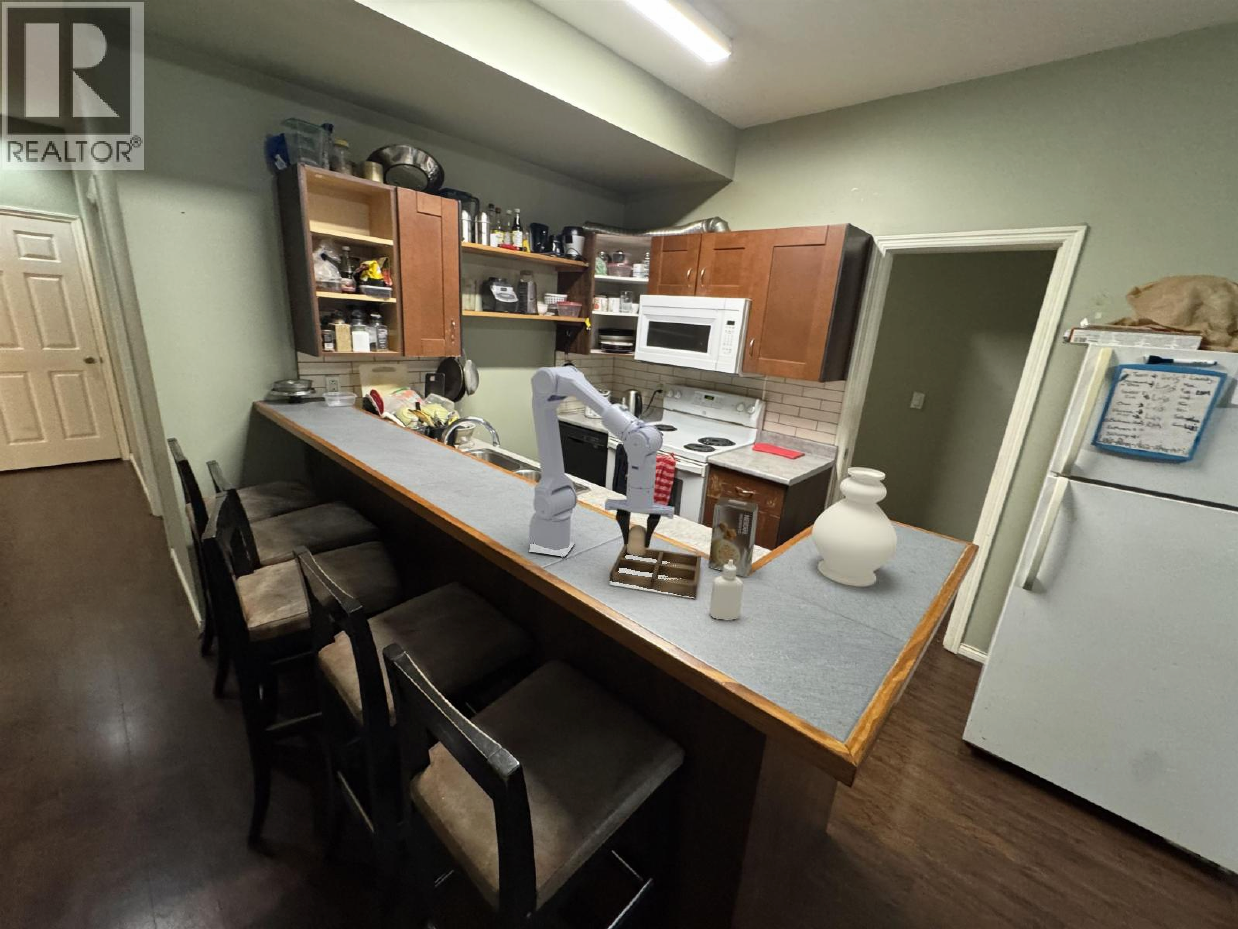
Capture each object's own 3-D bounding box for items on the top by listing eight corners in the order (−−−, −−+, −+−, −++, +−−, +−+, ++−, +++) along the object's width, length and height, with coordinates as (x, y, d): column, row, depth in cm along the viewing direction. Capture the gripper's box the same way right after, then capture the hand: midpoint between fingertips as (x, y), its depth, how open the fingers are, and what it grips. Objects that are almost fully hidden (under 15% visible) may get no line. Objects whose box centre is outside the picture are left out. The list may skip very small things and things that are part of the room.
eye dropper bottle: (712, 606, 98) (719, 552, 95) (740, 614, 96) (748, 559, 93) (706, 617, 94) (713, 561, 91) (735, 626, 92) (743, 568, 89)
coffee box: (752, 567, 115) (761, 503, 111) (745, 578, 110) (754, 512, 106) (714, 557, 119) (722, 495, 115) (706, 567, 114) (713, 503, 110)
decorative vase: (857, 600, 103) (880, 489, 96) (790, 564, 118) (806, 465, 111) (904, 582, 112) (929, 478, 105) (837, 550, 127) (854, 458, 120)
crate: (609, 585, 104) (609, 572, 103) (623, 556, 117) (624, 544, 117) (695, 599, 100) (697, 586, 99) (700, 567, 114) (701, 555, 113)
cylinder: (625, 554, 104) (627, 528, 102) (629, 546, 107) (630, 521, 106) (644, 556, 103) (645, 530, 101) (647, 548, 107) (648, 523, 105)
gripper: (677, 482, 103) (672, 541, 107) (611, 475, 106) (608, 532, 110) (674, 493, 97) (668, 555, 100) (603, 485, 99) (600, 545, 103)
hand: (636, 544), depth 105 cm, fingers closed on cylinder, 4 cm apart
